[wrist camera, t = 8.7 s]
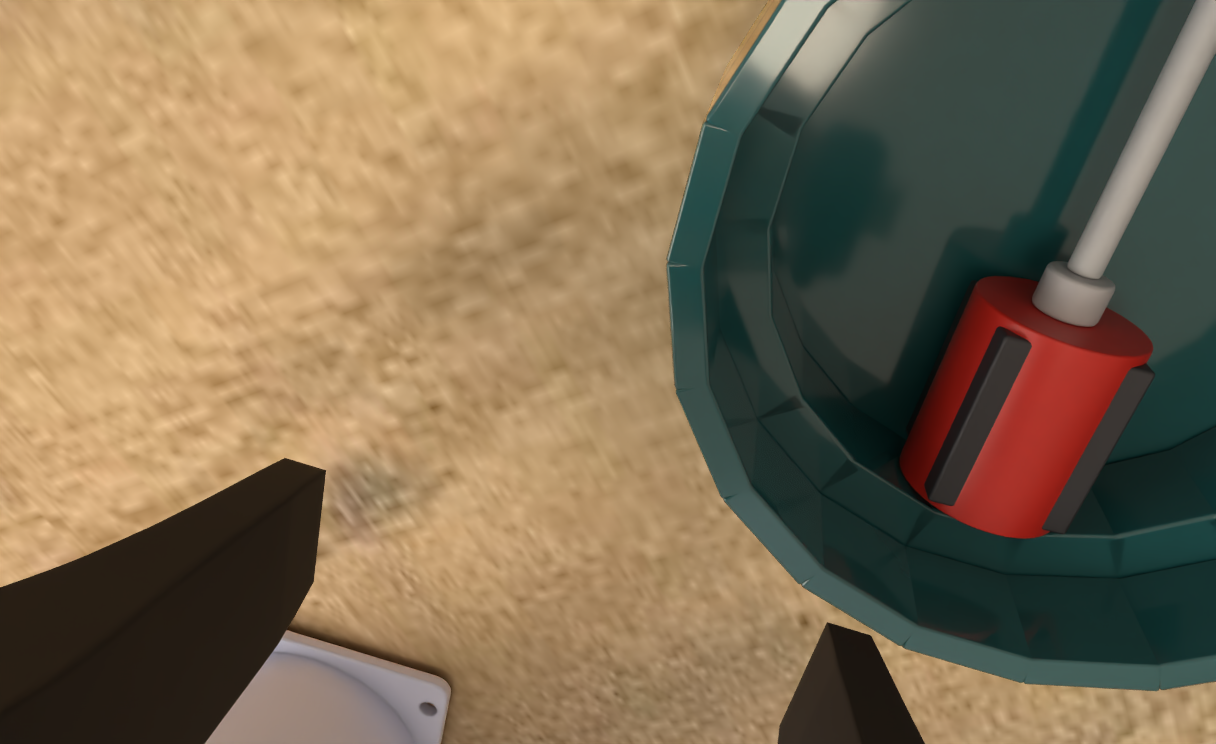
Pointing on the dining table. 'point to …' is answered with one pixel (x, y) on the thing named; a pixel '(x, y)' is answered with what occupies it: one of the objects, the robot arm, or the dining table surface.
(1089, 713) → the dining table surface
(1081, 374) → the screwdriver
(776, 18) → the bowl
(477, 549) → the dining table surface
